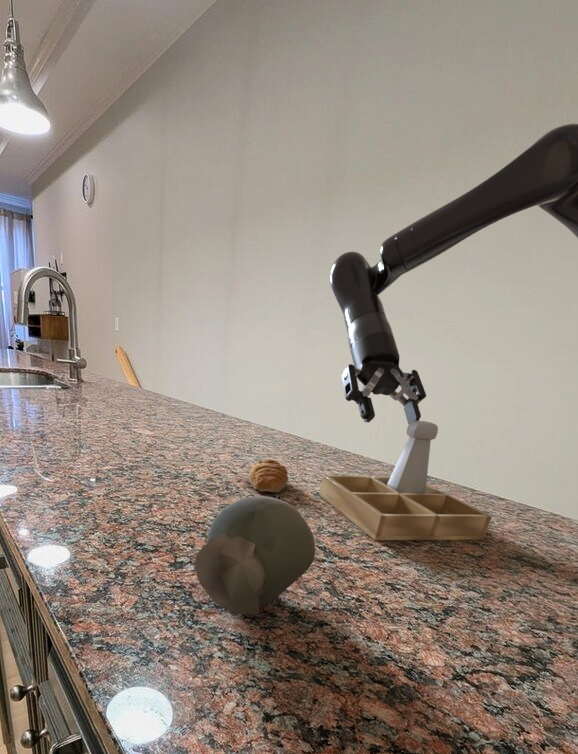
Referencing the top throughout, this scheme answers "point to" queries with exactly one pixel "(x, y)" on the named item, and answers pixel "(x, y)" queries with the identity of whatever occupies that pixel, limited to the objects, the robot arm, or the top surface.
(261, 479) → the pastry
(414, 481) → the salt shaker
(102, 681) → the top surface
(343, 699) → the top surface
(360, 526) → the grid
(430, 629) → the top surface
